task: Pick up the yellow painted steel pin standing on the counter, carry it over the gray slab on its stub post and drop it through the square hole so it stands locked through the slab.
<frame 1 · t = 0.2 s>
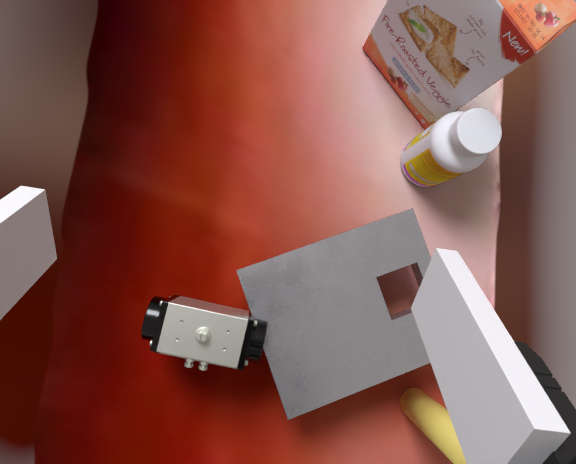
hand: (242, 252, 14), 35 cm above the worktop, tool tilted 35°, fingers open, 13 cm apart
gray slab: (336, 302, 49), on the worktop
pneumatic valve: (213, 321, 48), on the worktop
supplement bottle: (422, 163, 52), on the worktop
cracker box: (408, 80, 52), on the worktop
pin: (413, 402, 49), on the worktop
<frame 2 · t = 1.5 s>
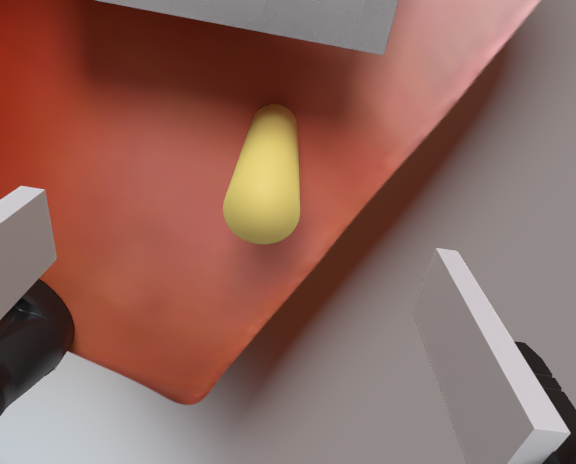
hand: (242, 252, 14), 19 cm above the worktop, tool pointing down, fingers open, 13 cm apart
pin: (274, 127, 31), on the worktop
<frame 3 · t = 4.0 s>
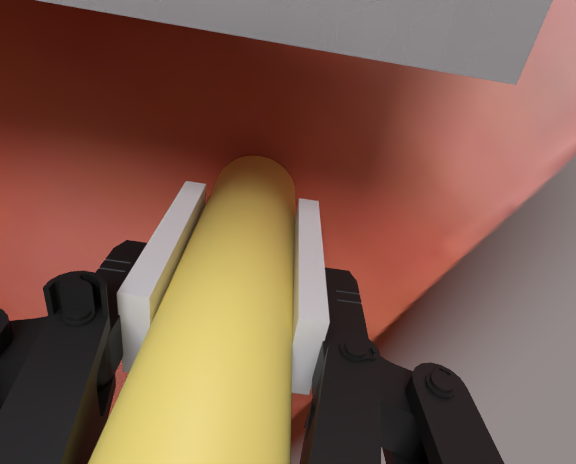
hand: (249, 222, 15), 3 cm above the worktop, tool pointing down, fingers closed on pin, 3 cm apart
pin: (255, 194, 18), on the worktop, touching gripper
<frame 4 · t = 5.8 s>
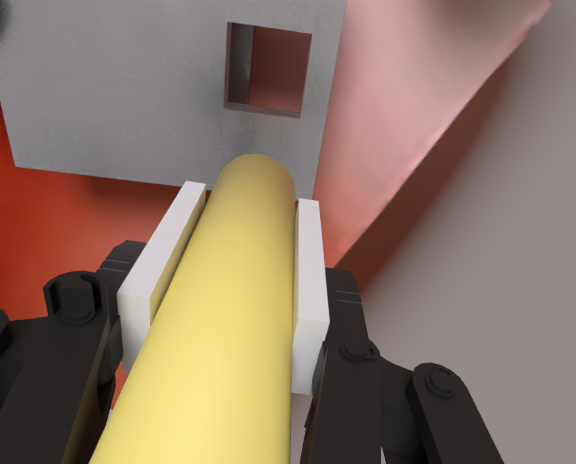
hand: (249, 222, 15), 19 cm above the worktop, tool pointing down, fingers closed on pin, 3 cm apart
gray slab: (192, 45, 30), on the worktop
pin: (256, 191, 18), point 16 cm above the worktop, touching gripper
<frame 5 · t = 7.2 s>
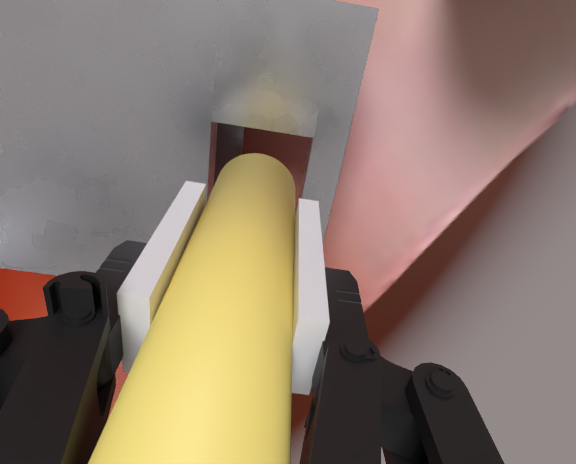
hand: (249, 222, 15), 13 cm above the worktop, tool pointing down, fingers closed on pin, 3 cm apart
gray slab: (177, 116, 26), on the worktop
pin: (256, 191, 18), point 10 cm above the worktop, touching gripper
when the fingers open (10 cm above the worktop, at t = 8.0 s): pin drops 5 cm, resting on gray slab.
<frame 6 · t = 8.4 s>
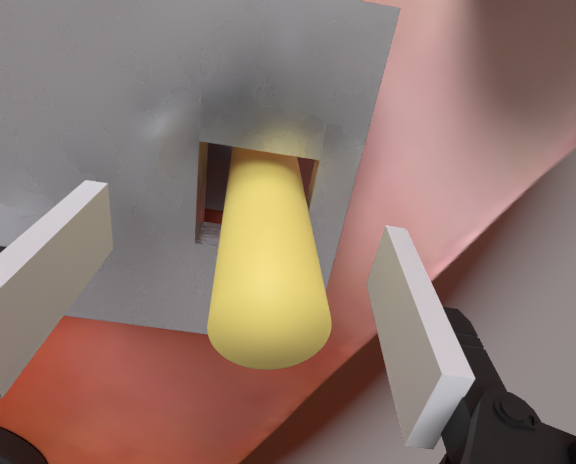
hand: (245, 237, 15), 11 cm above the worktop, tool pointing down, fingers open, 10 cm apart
gray slab: (166, 128, 23), on the worktop
pin: (263, 148, 23), point 1 cm above the worktop, tilted 6°, touching gray slab
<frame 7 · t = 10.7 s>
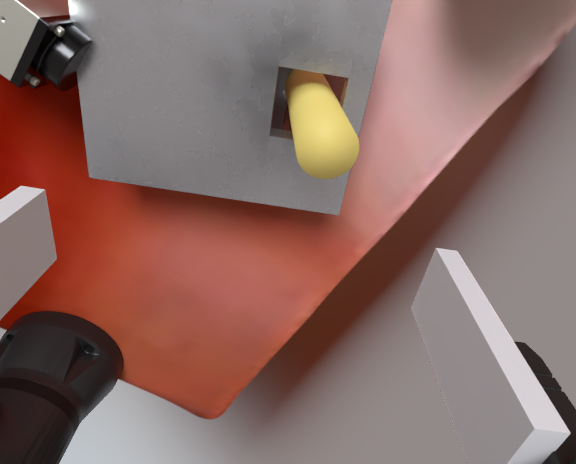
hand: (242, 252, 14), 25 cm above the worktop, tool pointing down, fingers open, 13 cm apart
gray slab: (238, 74, 34), on the worktop
pneumatic valve: (59, 4, 32), on the worktop
pin: (305, 87, 34), point 1 cm above the worktop, tilted 6°, touching gray slab
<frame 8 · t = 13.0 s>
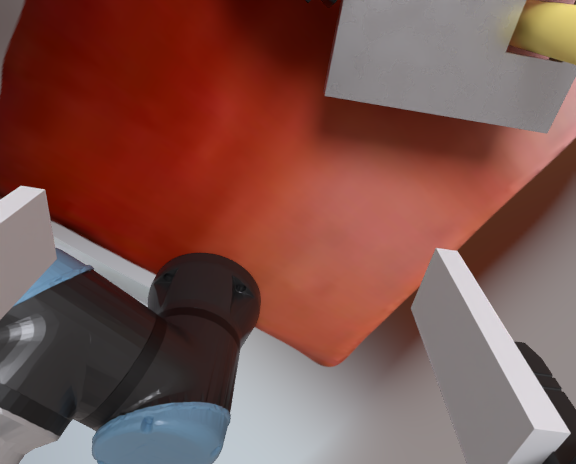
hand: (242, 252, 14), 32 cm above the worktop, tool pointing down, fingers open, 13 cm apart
gray slab: (441, 8, 37), on the worktop
pin: (504, 20, 37), point 1 cm above the worktop, tilted 6°, touching gray slab
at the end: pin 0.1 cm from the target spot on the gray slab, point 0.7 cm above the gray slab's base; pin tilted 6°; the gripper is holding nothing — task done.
